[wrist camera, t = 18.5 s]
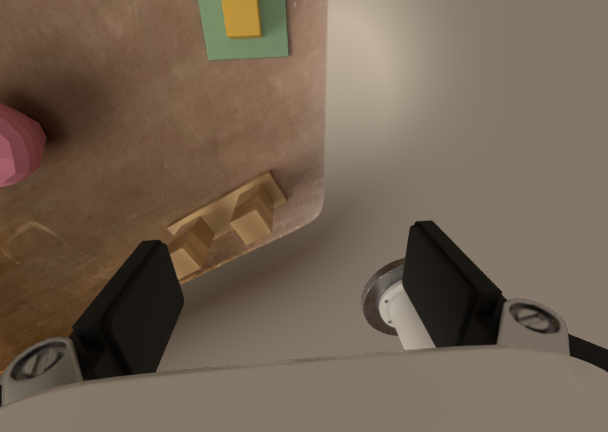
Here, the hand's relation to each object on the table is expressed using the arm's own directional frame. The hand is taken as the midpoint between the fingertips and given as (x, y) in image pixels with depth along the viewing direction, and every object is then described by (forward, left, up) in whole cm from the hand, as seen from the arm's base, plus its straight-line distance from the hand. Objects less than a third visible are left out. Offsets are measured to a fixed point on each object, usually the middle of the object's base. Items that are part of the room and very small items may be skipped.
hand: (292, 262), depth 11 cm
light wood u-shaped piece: (+5, +14, -28) cm, 32 cm away
